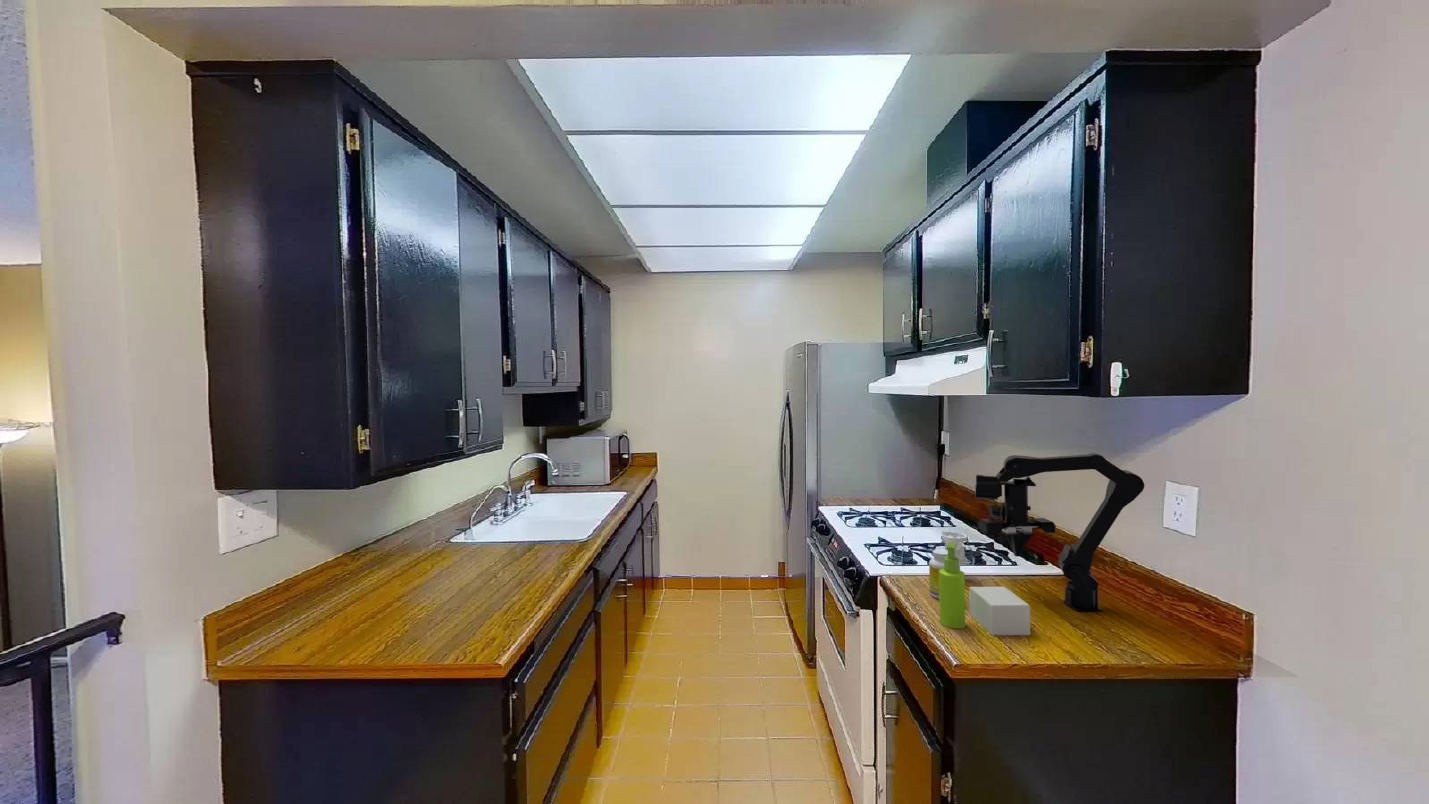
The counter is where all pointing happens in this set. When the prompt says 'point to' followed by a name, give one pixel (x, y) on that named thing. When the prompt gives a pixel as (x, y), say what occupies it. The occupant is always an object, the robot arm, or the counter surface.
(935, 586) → the supplement bottle
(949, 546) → the soap dispenser
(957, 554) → the white tall piece
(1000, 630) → the light grey rectangular block
